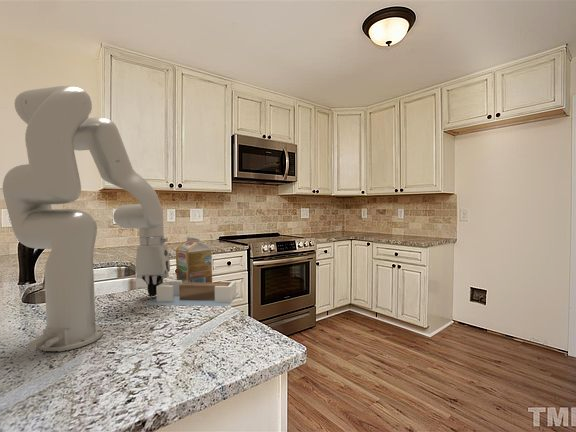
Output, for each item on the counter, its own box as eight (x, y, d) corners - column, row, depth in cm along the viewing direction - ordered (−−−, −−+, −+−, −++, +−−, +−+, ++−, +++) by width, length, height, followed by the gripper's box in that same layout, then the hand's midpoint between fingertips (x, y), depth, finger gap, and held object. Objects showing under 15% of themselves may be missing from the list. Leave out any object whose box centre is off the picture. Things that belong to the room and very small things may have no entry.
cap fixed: (230, 302, 96) (230, 287, 96) (214, 302, 97) (214, 286, 97) (236, 295, 104) (236, 281, 104) (221, 295, 104) (221, 281, 104)
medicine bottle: (152, 290, 115) (151, 259, 114) (135, 290, 116) (134, 259, 116) (163, 285, 122) (162, 256, 121) (147, 285, 123) (146, 256, 123)
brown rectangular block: (226, 300, 98) (226, 285, 98) (179, 300, 100) (179, 285, 99) (229, 297, 102) (229, 282, 102) (184, 296, 103) (183, 282, 103)
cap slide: (172, 301, 98) (171, 286, 97) (156, 301, 98) (156, 286, 98) (182, 294, 105) (182, 280, 105) (168, 294, 106) (167, 280, 106)
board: (228, 309, 93) (228, 305, 93) (144, 308, 95) (144, 304, 95) (238, 295, 107) (238, 292, 107) (165, 294, 109) (165, 292, 109)
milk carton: (176, 283, 126) (175, 238, 125) (199, 278, 133) (198, 236, 133) (188, 287, 118) (187, 239, 118) (212, 282, 126) (211, 237, 125)
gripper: (178, 240, 105) (179, 292, 105) (136, 240, 106) (138, 291, 106) (168, 242, 97) (169, 298, 98) (123, 243, 98) (125, 298, 99)
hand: (153, 295), depth 102 cm, fingers closed
